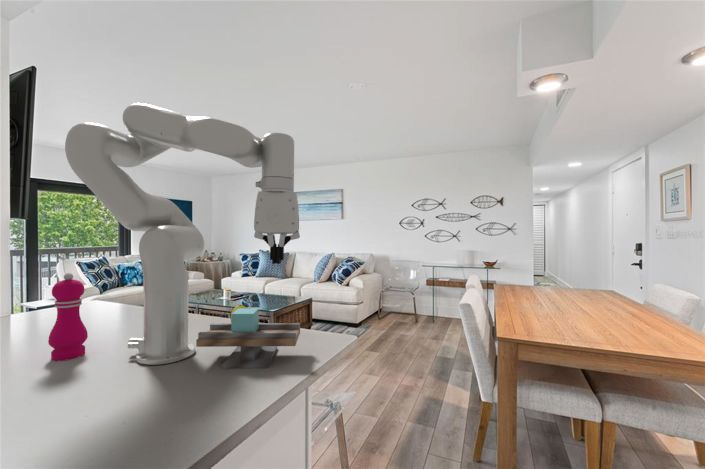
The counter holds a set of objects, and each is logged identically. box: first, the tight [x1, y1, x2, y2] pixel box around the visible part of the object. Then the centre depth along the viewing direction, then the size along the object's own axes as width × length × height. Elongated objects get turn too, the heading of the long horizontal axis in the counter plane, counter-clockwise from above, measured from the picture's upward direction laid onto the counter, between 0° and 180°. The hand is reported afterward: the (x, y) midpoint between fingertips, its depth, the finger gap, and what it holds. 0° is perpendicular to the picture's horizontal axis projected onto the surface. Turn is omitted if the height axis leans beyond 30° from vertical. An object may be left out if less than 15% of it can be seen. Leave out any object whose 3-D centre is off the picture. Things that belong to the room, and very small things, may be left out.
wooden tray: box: [195, 322, 301, 369], centre depth 81 cm, size 22×12×7 cm, turn 93°
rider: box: [230, 307, 260, 332], centre depth 80 cm, size 5×5×5 cm
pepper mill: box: [47, 272, 89, 362], centre depth 80 cm, size 7×7×20 cm
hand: (276, 263), depth 81 cm, fingers closed
